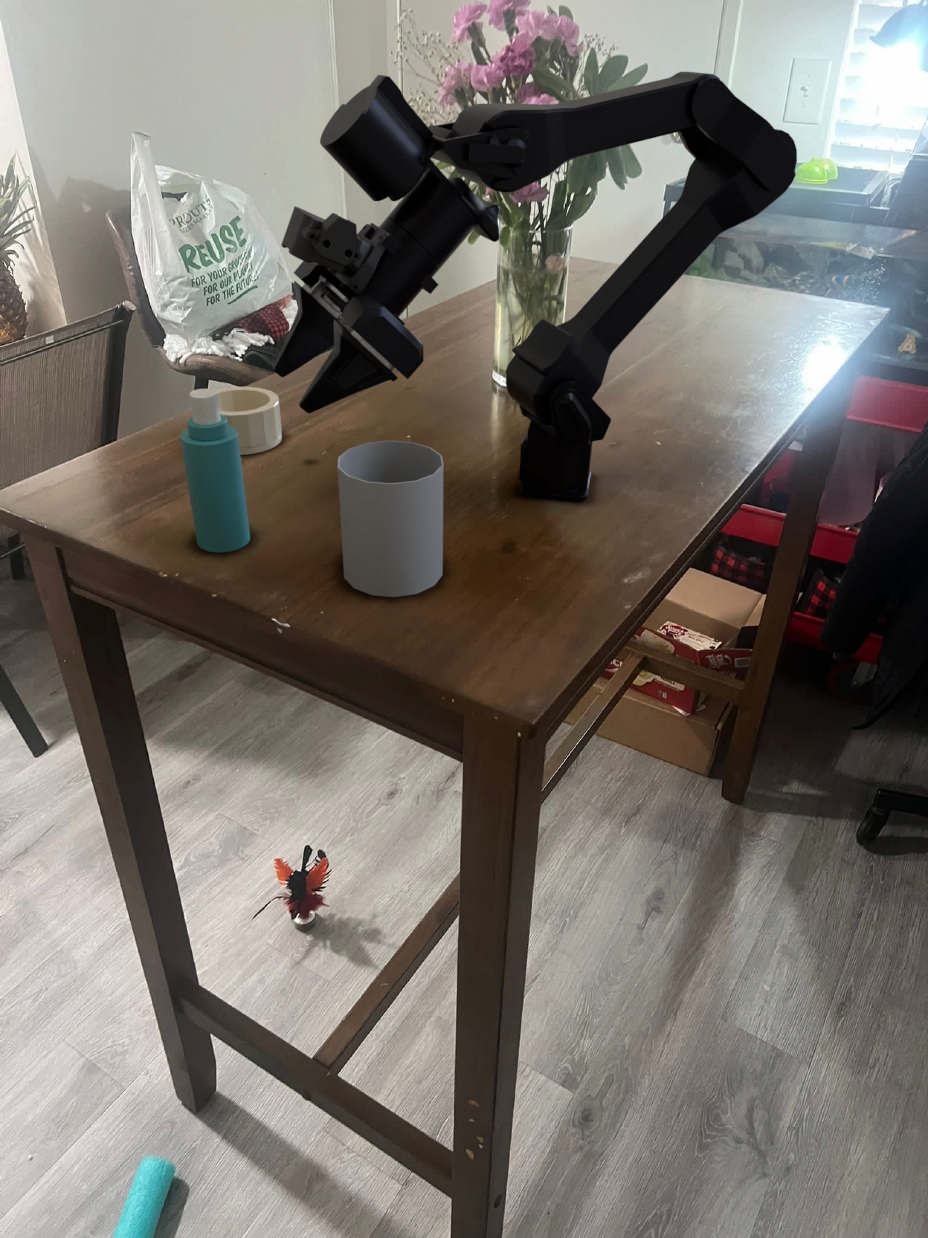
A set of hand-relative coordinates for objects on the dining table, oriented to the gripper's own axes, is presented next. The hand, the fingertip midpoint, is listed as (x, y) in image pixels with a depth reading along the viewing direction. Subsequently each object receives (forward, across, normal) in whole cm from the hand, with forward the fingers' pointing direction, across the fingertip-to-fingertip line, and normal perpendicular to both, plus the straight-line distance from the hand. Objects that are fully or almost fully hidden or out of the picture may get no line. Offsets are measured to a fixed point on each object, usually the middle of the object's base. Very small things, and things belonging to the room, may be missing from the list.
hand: (289, 390), depth 76 cm
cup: (+5, +10, +13) cm, 17 cm away
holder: (+10, -22, +8) cm, 26 cm away
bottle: (+14, 0, +4) cm, 15 cm away
